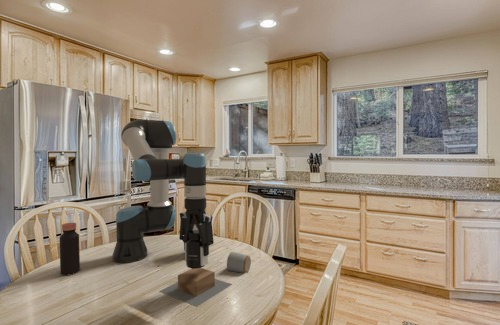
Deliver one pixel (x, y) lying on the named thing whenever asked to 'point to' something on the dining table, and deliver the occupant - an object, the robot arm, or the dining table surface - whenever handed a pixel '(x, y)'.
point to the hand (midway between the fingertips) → (196, 262)
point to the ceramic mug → (238, 262)
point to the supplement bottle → (193, 250)
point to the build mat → (193, 299)
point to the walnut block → (196, 281)
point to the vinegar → (69, 250)
